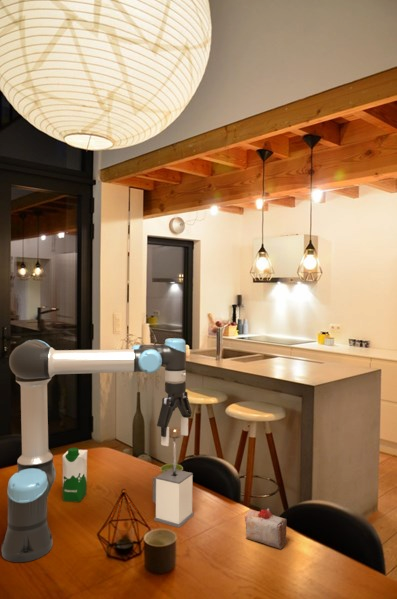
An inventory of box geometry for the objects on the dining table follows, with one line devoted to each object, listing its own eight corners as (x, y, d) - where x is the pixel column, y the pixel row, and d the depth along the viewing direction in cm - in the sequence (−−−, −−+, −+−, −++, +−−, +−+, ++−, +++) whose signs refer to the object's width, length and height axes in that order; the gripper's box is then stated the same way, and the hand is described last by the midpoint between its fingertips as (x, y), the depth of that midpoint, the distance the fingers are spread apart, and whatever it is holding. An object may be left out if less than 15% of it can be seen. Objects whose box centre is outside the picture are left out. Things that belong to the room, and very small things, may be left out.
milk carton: (59, 502, 178) (60, 450, 178) (68, 492, 187) (68, 443, 187) (81, 503, 177) (81, 451, 177) (89, 493, 186) (89, 444, 186)
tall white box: (179, 527, 159) (179, 482, 159) (145, 518, 166) (145, 475, 166) (193, 515, 169) (193, 472, 168) (161, 506, 175) (161, 465, 175)
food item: (241, 539, 152) (241, 510, 152) (251, 529, 159) (252, 501, 159) (280, 552, 145) (280, 521, 145) (289, 540, 152) (289, 511, 152)
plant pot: (180, 494, 186) (180, 473, 186) (157, 492, 188) (157, 471, 188) (184, 484, 195) (184, 464, 195) (163, 483, 197) (163, 463, 197)
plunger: (177, 488, 162) (178, 432, 161) (161, 484, 165) (161, 429, 165) (187, 481, 168) (188, 427, 168) (171, 478, 171) (171, 424, 171)
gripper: (165, 388, 153) (165, 452, 153) (200, 377, 175) (200, 432, 175) (147, 386, 157) (146, 448, 157) (183, 375, 179) (183, 429, 179)
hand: (175, 440), depth 166 cm, fingers open, 13 cm apart
